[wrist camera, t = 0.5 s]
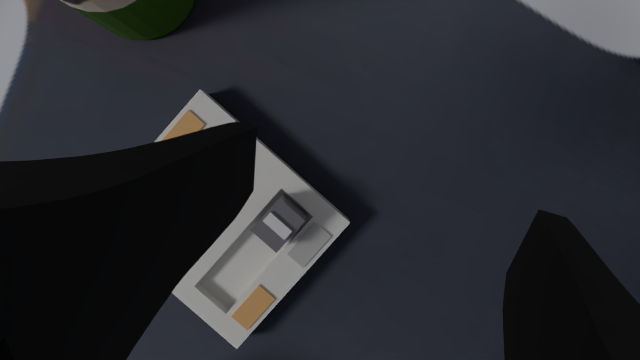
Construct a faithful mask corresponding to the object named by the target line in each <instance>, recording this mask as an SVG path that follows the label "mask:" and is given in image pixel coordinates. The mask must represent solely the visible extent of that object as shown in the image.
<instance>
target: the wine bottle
mask: <svg viewBox="0 0 640 360" xmlns="http://www.w3.org/2000/svg"><path fill="white" fill-rule="evenodd" d="M60 1H62V2H63V3H65V4H67V5H68V6H70V7H72V8H73V9H75V10H77V11H78V12H80V13H82V14H83V15H85V16H87V17H88V18H90V19H92V20H93V21H95V22H97V23H98V24H100V25H101V26H103V27H105V28H106V29H108V30H110V31H111V32H113V33H115V34H116V35H118V36H121V37H125V38H128V39H132V40H150V39H154V38H158V37H162V36H164V35H166V34H168V33H170V32H171V31H173V30H175V29H176V28H177V27H178V26H179V25H180V24H181V23H182V22H183V21H184V20H185V19H186V17H187V16H188V14H189V12H190V10H191V9H192V7H193V3H194V0H60Z"/></svg>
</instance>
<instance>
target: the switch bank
mask: <svg viewBox="0 0 640 360" xmlns="http://www.w3.org/2000/svg"><path fill="white" fill-rule="evenodd" d="M231 122H239V121H238V120H237V119H236V118H235V117H234V116H232V115H231V114H230V113H229V112H228V111H227V110H226V109H225V108H223V107H222V106H221V105H220V104H219V103H218V102H217V101H216V100H214V99H213V98H212V97H211V96H210V95H209V94H207V93H205V92H204V91H202V90H199V91H198V92H197V93H196V94H195V96H194V97H193V98H192V99H191V100H190V101H189V103H188V104H187V105H186V106H185V107H184V108H183V109H182V111H181V112H180V113H179V114H178V115H177V116H176V117H175V119H174V120H173V121H172V122H171V123H170V124H169V126H168V127H167V128H166V129H165V130H164V131H163V132H162V134H161V135H160V136H159V137H158V138H157V139H156V141H155V142H158V141H162V140H166V139H170V138H174V137H178V136H181V135H185V134H188V133H192V132H196V131H199V130H203V129H206V128H210V127H214V126H218V125H222V124H226V123H231ZM283 194H285V195H286V196H287V197H288V198H289V199H291V200H292V201H293V202H294V203H295V204H296V205H297V206H298V207H300V208H301V209H302V210H303V211H304V212H305V213H306V214H307V216H306V220H305V222H304V223H303V224H302V225H301V226H300V227H299V228H298V230H297V231H296V232H295V233H294V234H293V235H292V236H291V237H290V238H289V240H288V241H287V242H286V243H285V244H284V245H283V246H282V247H281V249H280V250H279V251H278V252H277V253H276V252H275V251H274V250H272V249H271V248H270V247H269V246H268V245H267V244H266V243H264V242H263V241H262V240H261V239H260V238H259V237H258V236H256V235H255V234H254V233H253V232H252V231H251V229H252V228H253V227H254V226H255V225H256V223H257V222H258V221H259V220H260V219H261V218H262V217H263V216H264V214H265V213H266V212H267V211H268V210H269V209H270V208H271V207H272V205H273V204H274V203H275V202H276V201H277V200H278V199H279V198H280V197H281V196H282V195H283ZM349 224H350V221H349V219H348V218H347V217H346V216H345V215H344V214H343V213H342V212H340V211H339V210H338V209H337V208H336V207H335V206H334V205H333V204H331V203H330V202H329V201H328V200H327V199H326V198H325V197H324V196H322V195H321V194H320V193H319V192H318V191H317V190H316V189H315V188H313V187H312V186H311V185H310V184H309V183H308V182H307V181H306V180H304V179H303V178H302V177H301V176H300V175H299V174H298V173H297V172H295V171H294V170H293V169H292V168H291V167H290V166H289V165H288V164H286V163H285V162H284V161H283V160H282V159H281V158H280V157H279V156H277V155H276V154H275V153H274V152H273V151H272V150H271V149H270V148H268V147H267V146H266V145H265V144H264V143H263V142H262V141H261V140H259V139H258V138H257V140H256V158H255V175H254V191H253V192H252V194H251V196H250V197H249V199H248V200H247V202H246V203H245V205H244V207H243V208H242V210H241V211H240V213H239V214H238V215H237V217H236V218H235V219H234V221H233V222H232V223H231V224H230V225H229V226H228V228H227V229H226V230H225V231H224V232H223V233H222V234H221V235H220V237H219V238H218V239H217V240H216V241H215V242H214V243H213V244H212V246H211V247H210V248H209V249H208V250H207V251H206V252H205V253H204V254H203V256H202V257H201V258H200V259H199V260H198V261H197V262H196V263H195V265H194V266H193V267H192V268H191V269H190V270H189V271H188V272H187V273H186V275H185V276H184V277H183V278H182V280H181V281H180V282H179V283H178V284H177V286H176V287H175V288H174V290H173V291H172V293H173V294H174V295H175V296H176V297H177V298H179V299H180V300H181V301H182V302H183V303H184V304H185V305H187V306H188V307H189V308H190V309H191V310H192V311H193V312H195V313H196V314H197V315H198V316H199V317H200V318H202V319H203V320H204V321H205V322H206V323H207V324H208V325H210V326H211V327H212V328H213V329H214V330H215V331H216V332H218V333H219V334H220V335H221V336H222V337H223V338H225V339H226V340H227V341H228V342H229V343H230V344H231V345H233V346H234V347H235V348H236V349H237V348H238V347H239V346H240V345H241V344H242V343H243V342H244V340H245V339H246V338H247V337H248V336H249V335H250V334H251V333H252V332H253V330H254V329H255V328H256V327H257V326H258V325H259V324H260V323H261V322H262V320H263V319H264V318H265V317H266V316H267V315H268V314H269V313H270V312H271V310H272V309H273V308H274V307H275V306H276V305H277V304H278V303H279V302H280V300H281V299H282V298H283V297H284V296H285V295H286V294H287V293H288V292H289V290H290V289H291V288H292V287H293V286H294V285H295V284H296V283H297V281H298V280H299V279H300V278H301V277H302V276H303V275H304V274H305V273H306V271H307V270H308V269H309V268H310V267H311V266H312V265H313V264H314V263H315V261H316V260H317V259H318V258H319V257H320V256H321V255H322V254H323V253H324V251H325V250H326V249H327V248H328V247H329V246H330V245H331V244H332V243H333V241H334V240H335V239H336V238H337V237H338V236H339V235H340V234H341V233H342V231H343V230H344V229H345V228H346V227H347V226H348V225H349Z"/></svg>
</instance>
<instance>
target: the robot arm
mask: <svg viewBox="0 0 640 360" xmlns="http://www.w3.org/2000/svg"><path fill="white" fill-rule="evenodd" d="M256 140H257V127H253V126H250V125H247V124H243V123H240V122H231V123H226V124H222V125H218V126H214V127H210V128H206V129H203V130H199V131H196V132H192V133H188V134H185V135H181V136H178V137H174V138H170V139H166V140H162V141H158V142H154V143H150V144H145V145H141V146H137V147H133V148H128V149H123V150H117V151H112V152H106V153H99V154H93V155H86V156H77V157H66V158H55V159H44V160H31V161H4V162H0V360H126V359H127V357H128V356H129V354H130V353H131V351H132V350H133V348H134V346H135V345H136V343H137V342H138V340H139V339H140V337H141V336H142V334H143V333H144V331H145V330H146V328H147V327H148V326H149V324H150V323H151V321H152V320H153V318H154V317H155V315H156V314H157V312H158V311H159V309H160V308H161V307H162V305H163V304H164V302H165V301H166V300H167V298H168V297H169V295H170V294H171V293H172V291H173V290H174V288H175V287H176V286H177V284H178V283H179V282H180V281H181V280H182V278H183V277H184V276H185V275H186V273H187V272H188V271H189V270H190V269H191V268H192V267H193V266H194V265H195V263H196V262H197V261H198V260H199V259H200V258H201V257H202V256H203V254H204V253H205V252H206V251H207V250H208V249H209V248H210V247H211V246H212V244H213V243H214V242H215V241H216V240H217V239H218V238H219V237H220V235H221V234H222V233H223V232H224V231H225V230H226V229H227V228H228V226H229V225H230V224H231V223H232V222H233V221H234V219H235V218H236V217H237V215H238V214H239V213H240V211H241V210H242V208H243V207H244V205H245V203H246V202H247V200H248V199H249V197H250V196H251V194H252V192H253V191H254V175H255V158H256ZM503 333H504V355H505V360H640V304H639V303H638V302H637V301H636V300H635V299H634V298H633V297H632V295H631V294H630V293H629V292H628V291H627V290H626V289H625V287H624V286H623V285H622V284H621V283H620V282H619V280H618V279H617V278H616V277H615V276H614V274H613V273H612V272H611V271H610V270H609V268H608V267H607V266H606V265H605V263H604V262H603V261H602V260H601V258H600V257H599V256H598V255H597V254H596V252H595V251H594V250H593V248H592V247H591V246H590V245H589V243H588V242H587V241H586V240H585V238H584V237H583V236H582V235H581V233H580V232H579V231H578V230H577V228H576V227H575V226H574V225H573V224H572V223H571V222H570V220H569V219H568V218H566V217H563V216H560V215H556V214H553V213H549V212H546V211H542V210H538V212H537V214H536V216H535V218H534V220H533V222H532V224H531V226H530V228H529V230H528V232H527V234H526V236H525V238H524V240H523V241H522V243H521V245H520V247H519V249H518V251H517V253H516V255H515V257H514V259H513V261H512V263H511V265H510V267H509V269H508V271H507V273H506V282H505V290H504V300H503Z"/></svg>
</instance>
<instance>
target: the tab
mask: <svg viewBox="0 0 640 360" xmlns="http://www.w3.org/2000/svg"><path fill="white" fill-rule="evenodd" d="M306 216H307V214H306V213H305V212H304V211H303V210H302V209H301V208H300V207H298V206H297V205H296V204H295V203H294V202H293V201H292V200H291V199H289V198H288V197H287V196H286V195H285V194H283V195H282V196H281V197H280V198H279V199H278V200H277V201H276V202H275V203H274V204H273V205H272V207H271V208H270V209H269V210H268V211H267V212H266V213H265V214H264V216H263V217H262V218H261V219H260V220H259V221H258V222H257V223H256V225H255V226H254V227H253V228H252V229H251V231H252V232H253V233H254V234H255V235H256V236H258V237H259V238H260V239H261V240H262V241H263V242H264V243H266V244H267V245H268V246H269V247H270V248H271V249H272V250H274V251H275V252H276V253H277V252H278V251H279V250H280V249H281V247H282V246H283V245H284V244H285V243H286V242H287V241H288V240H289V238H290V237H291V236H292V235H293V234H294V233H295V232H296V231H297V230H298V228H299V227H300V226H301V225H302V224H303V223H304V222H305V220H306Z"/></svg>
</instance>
